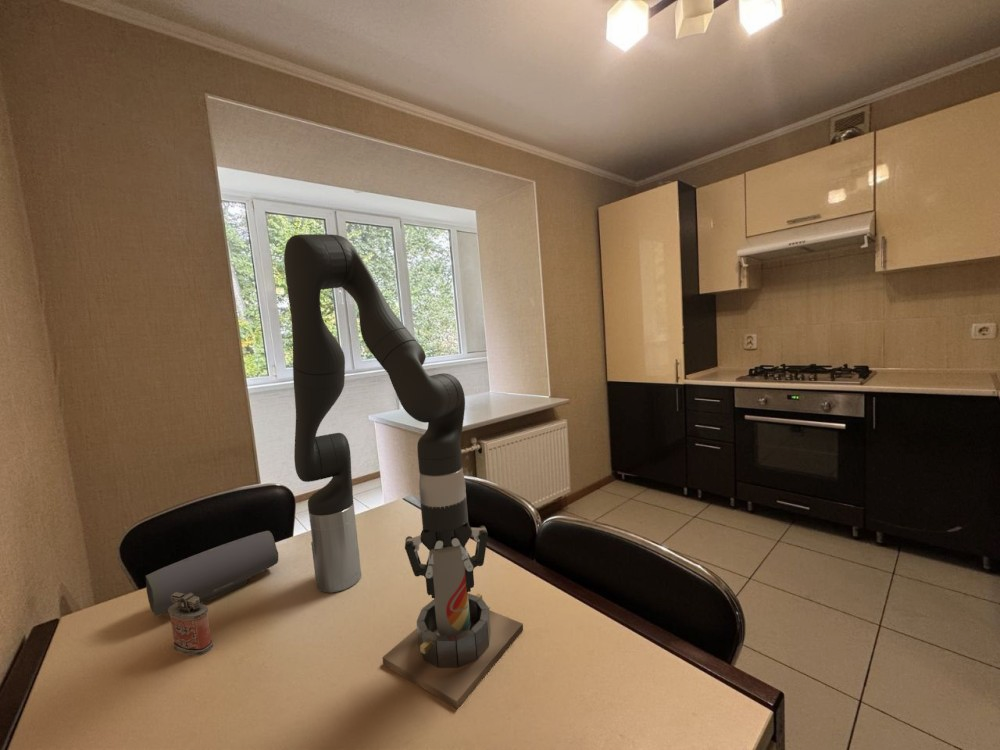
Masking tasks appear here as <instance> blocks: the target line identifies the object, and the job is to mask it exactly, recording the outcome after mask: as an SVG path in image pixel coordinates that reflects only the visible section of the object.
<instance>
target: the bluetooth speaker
mask: <svg viewBox="0 0 1000 750" xmlns="http://www.w3.org/2000/svg"><path fill="white" fill-rule="evenodd" d="M278 562H279V551H278V549H277V544H276V542H275V538H274V536H273V533H272V532H271V531H270V530H265V531H261V532H257V533H253V534H251V535H247V536H245V537H244V536H243V537H241V538H238V539H235V540H233V541H230V542H227V543H223V544H220V545H218V546H216V547H213V548H210V549H207V550H204V551H202V552H200V553H199V552H198V553H197V554H194V555H191V556H189V557H187V558H184V559H181V560H179V561H177V562H174V563H171V564H169V565H167V566H164V567H162V568H159V569H157V570H154V571H153V572H151V573H149V574H146V575H145V583H146V595H147V599H148V603H149V607H150V611H151V612H152V613H153V615H154V616H153V617H157V616H161V615H164V614H166V613H168V608H169V607H170V606H172V605H173V604H175V603H174V602H172V600H171V596H172V594H174V593H176V592H178V593H183V594H186V595H187V594H189V593H193V594H194V596H195V597H199V601H200V603H201V604H204V603H205V602H208V601H211V600H213V599H215V598H218V597H220V596H222V595H224V594H226V593H229V592H231V591H233V590H236V589H237V588H239V587H241V586H243V585H245V584H246V583H247V580H248V579H249V578H252V577H255V576H256V575H258V574H260V573H262V572H265V571H266V570H269V569H271V568H272V567H274V566H276V565H277V564H278Z"/></svg>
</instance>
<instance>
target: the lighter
mask: <svg viewBox="0 0 1000 750" xmlns="http://www.w3.org/2000/svg"><path fill="white" fill-rule="evenodd" d="M171 600H172V602H174V603H175V604H173V605H172V606H170V607H169V608H168V612H167V613H168V615H169V616H170V623H171V630H172V634H173V635H172V636H173V643H172V644H173V649H174V650H175V651H177V652H178V653H181V654H184V655H188V656H202V655H205V654H207V653H209V652H210V651H211V650H212V649H213V648H214V643H213V642H214V641H213V640H212V635H211V629H210V623H209V617H208V616H209V615H208V613H209V607H208V606H207V605H206V604H204V603H200V601H199V597H195V596H194V594H193V593H189V594H187V595H186V594H183V593H178V592H176V593H174V594H172V596H171Z"/></svg>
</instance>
